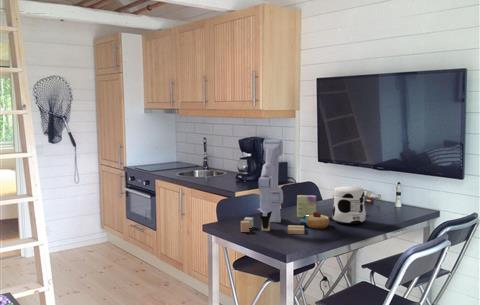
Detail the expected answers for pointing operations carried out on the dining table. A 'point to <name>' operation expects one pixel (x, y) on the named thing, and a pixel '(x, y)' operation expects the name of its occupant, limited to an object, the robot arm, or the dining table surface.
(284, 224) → the dining table surface
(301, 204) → the box
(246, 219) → the sage block
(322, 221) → the pastry
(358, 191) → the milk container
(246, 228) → the terracotta block
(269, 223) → the maple block
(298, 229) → the oak slab
